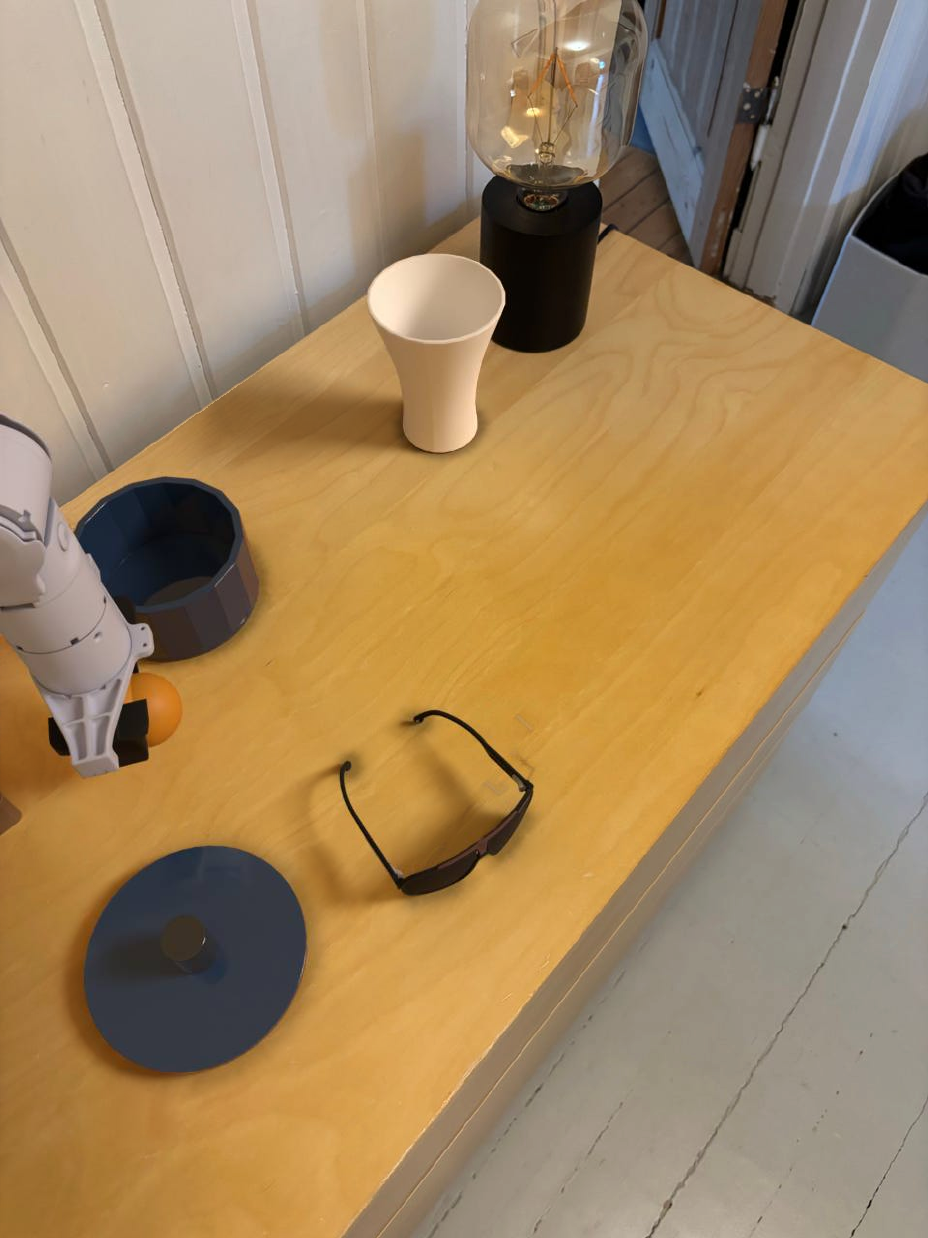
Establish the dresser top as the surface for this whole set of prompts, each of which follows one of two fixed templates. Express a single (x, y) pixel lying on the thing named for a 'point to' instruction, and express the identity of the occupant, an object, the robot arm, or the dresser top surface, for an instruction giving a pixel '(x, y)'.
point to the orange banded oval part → (156, 705)
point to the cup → (437, 341)
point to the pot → (174, 561)
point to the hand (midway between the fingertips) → (128, 723)
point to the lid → (195, 959)
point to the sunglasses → (468, 858)
